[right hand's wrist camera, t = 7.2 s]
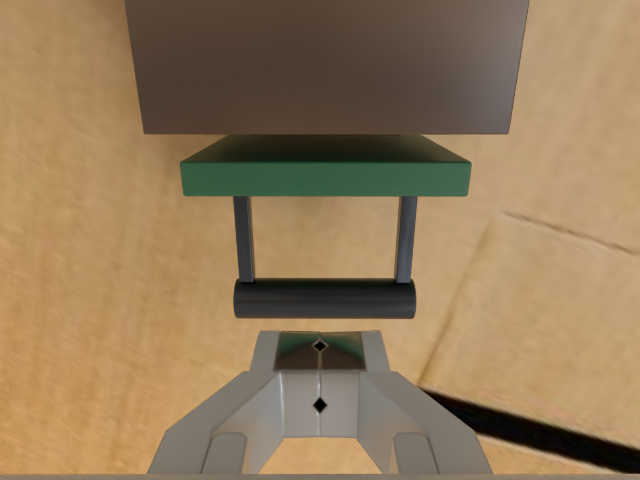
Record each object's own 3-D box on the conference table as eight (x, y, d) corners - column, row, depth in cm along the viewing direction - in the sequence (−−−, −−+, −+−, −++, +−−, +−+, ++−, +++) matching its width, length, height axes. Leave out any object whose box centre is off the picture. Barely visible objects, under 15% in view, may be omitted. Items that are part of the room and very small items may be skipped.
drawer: (410, 262, 23) (449, 342, 16) (237, 262, 24) (200, 342, 16) (444, -147, 17) (534, -315, 10) (206, -146, 17) (121, -311, 10)
